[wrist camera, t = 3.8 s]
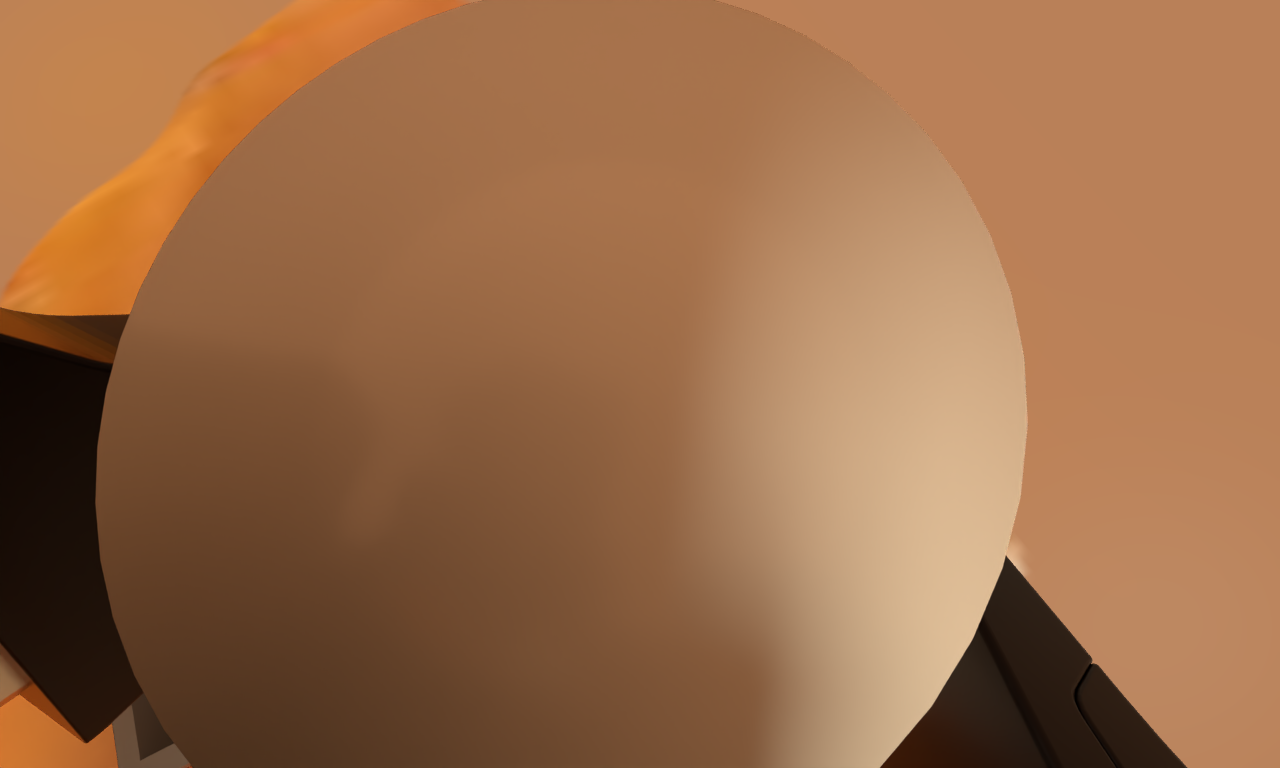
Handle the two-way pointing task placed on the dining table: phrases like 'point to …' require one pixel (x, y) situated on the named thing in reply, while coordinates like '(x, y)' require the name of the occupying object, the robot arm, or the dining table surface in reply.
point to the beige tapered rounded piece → (564, 409)
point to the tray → (144, 739)
